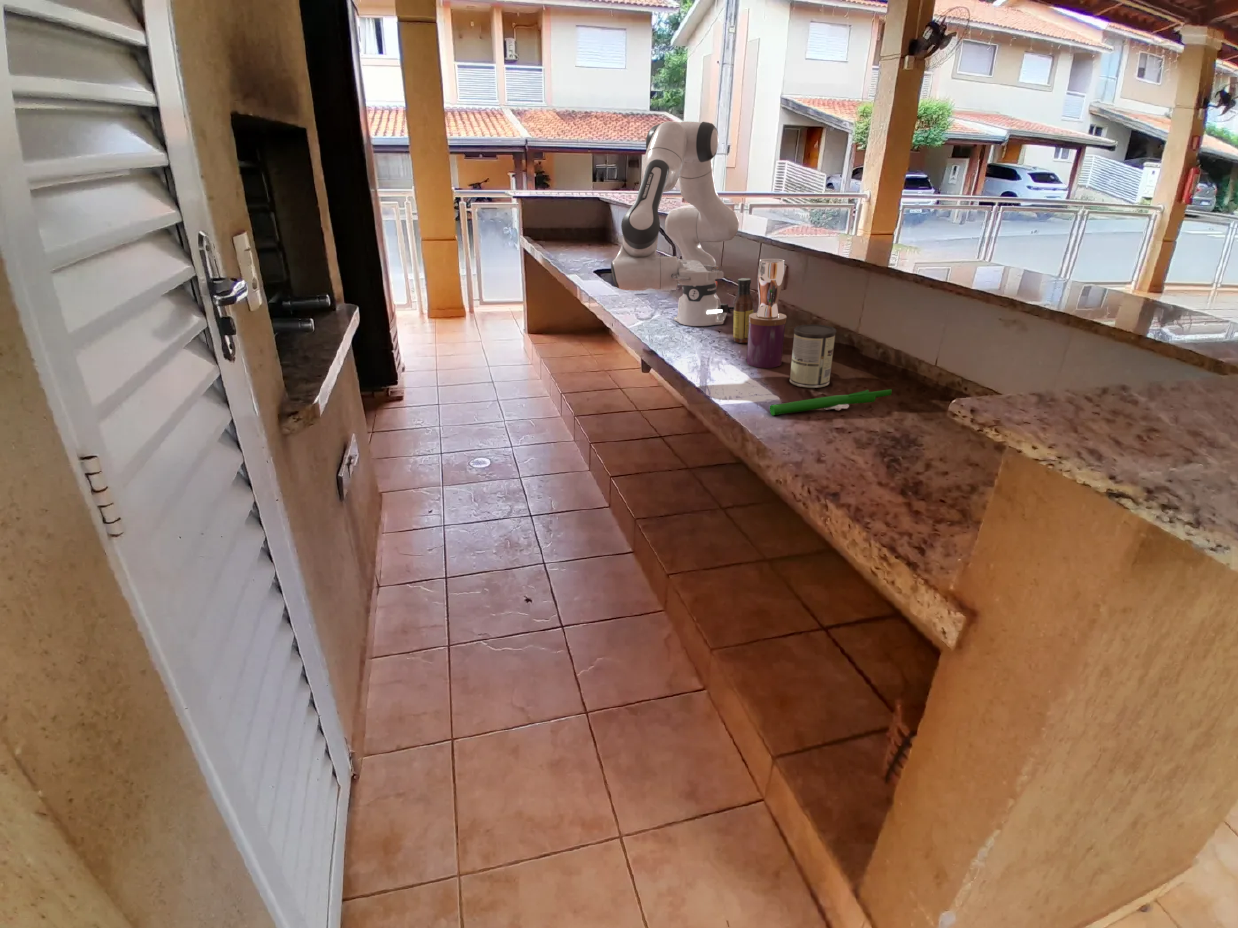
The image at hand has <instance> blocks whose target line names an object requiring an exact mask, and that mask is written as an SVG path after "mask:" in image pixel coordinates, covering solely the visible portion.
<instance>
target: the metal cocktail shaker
mask: <svg viewBox="0 0 1238 928" xmlns="http://www.w3.org/2000/svg"><path fill="white" fill-rule="evenodd" d="M758 262H759V263H758V270H757V280H756V281H757V292H758V293H757V294H758V306H757V311H756V313H757V317H760V318H776V317H778V316H779V313H780V312H779V300H780V297H781V292H782V288H783V284H784V278H785V260H784V259H781V258H763V259H759V261H758Z"/></svg>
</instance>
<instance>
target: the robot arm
mask: <svg viewBox="0 0 1238 928" xmlns="http://www.w3.org/2000/svg"><path fill="white" fill-rule="evenodd" d="M719 143H720V138H719V131H718V128H717V127H716V126H715V124H713V123H712V122H708V121H701V122H699V121H679V122H675V121H672V120H671V121H669V120H668V121H664V122H662V123H659V124H655V125H653V126H652V127H651V128H650V129H649V131H648V132H647V134H646V139H645V149H646V150H645V154H644V158H643V161H642V162H643V163H642V168H641V184H640V187H639V190H638V192H637V195H636V199H635V201H634V202H633V204H632V205H631V207H629V209H628V210H627V211H626V212H625V214H624V215H623V217H622V219H621V225H620V227H621V232H622V233H621V234H622V244H621V246H620V248H619V250H618V253H617V255H616V256H615V258H613V260H612V261H611V263H610V271H611V277H612V281H613V284H614V286H615V287H616V288H617V289H619V290H623V291H630V292H631V291H633V292H644V291H648V290H656V291H676V290H677V289H678V286H682V287H681V289H682V295H681V296H680V297H679V298H678V304H677V316H675V317H673V321H675V322H677V323H679V324H680V325H683V326H689V327H690V326H691V327H708V326H714V325H715V326H716V325H723V324H724V323H725V320H726V318H727V313H731V310H734V306H729V303H722V301H721V299H720V297H719V296H718V295H717V290H718V289H717V288H718V281H716V280H722V279H724V277H725V272H724V271H723V270H720V269H719V268H720V267H719V266H718V265H717V262H716V259H715V257H714V256H713V255H712V254H710V253H709V252H707V251H705V250H704V249H703V247H702V245H701V243H722V242H727V241H731V240H733V239H734V238H735V236H736V235H737V233H738V231H739V227H740V220H739V217H738V214H737V213H736V212H735V211H734V209H731V207H729V206H728V205H726V204H725V202H724V201H723V200H722V199H721V198H720V196H719V194H718V191H717V189H716V184H715V183H716V182H715V177H714V167H713V159H714V157H715V156H716V155H717V153H718V149H719ZM677 182H679V190H680V195H681V197H682V198H683V200H684V202H686V203H688V204H689V205H691V206H693V207H681V208H676V209H671V210H670V211H669V212H668V214H667V215H666V217H665V222H664V231H665V234H666V235H667V237H668V238H669V239H670V240H671V241H672V242H673V243H674V244H675V245H676V246H677V247H678V249H679V252H680V255H681V256H682V258H679V259H678V257H677V256H676V255H675V256H656V255H657V251H658V244H659V243H658V242H659V233H660V228H661V220H660V215H659V207H660V205H661V202H662V198H663V195H664V193H667V192H669V191H672V190H673V189H674V188H675V186H676V184H677Z"/></svg>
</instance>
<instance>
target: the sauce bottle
mask: <svg viewBox="0 0 1238 928" xmlns="http://www.w3.org/2000/svg"><path fill="white" fill-rule="evenodd" d="M751 284H752V279H751V278H750V277H741V278H738V279H737V295H736V296H735V297H734V300H733V307H734V309H733V323H732V324H733V326H732V327H733V330H732V331H733V332H732V333H733V334H732V336H733V342H735V343H737V344H748V331H749V321H748V320H749V315H750V314H752V313H754V298H753V296H752V294H751Z"/></svg>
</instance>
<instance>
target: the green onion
mask: <svg viewBox="0 0 1238 928" xmlns="http://www.w3.org/2000/svg"><path fill="white" fill-rule="evenodd" d="M888 396H892V388H891V389H883V390H875V391H870V390H869V388H868V389H865V390H861V391H857V392H852V393H849V394H838V395H830V396H822V397H816V398H809V399H803V400H802V399H801V400H796V401H790V402H785V403H783V402H782V403H776V404H771V405H769V413H770V415H771V416H778V415H779V416H780V415H784V414H792V413H800V412H807V411H814V410H820V409H821V410H822V409H824V410H825V411H830V410H835V411H836V412H837V411H841V410H842V409H849V408H850V405H852V404H855V405H856V404H867V403H874V402H875V401H876V398H883V397H888Z"/></svg>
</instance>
